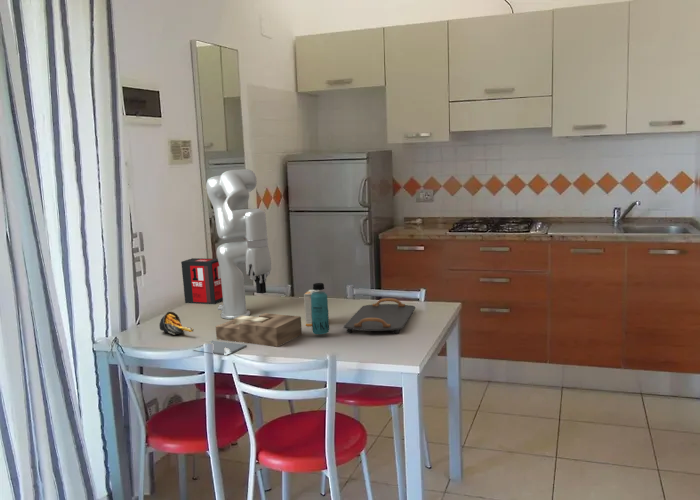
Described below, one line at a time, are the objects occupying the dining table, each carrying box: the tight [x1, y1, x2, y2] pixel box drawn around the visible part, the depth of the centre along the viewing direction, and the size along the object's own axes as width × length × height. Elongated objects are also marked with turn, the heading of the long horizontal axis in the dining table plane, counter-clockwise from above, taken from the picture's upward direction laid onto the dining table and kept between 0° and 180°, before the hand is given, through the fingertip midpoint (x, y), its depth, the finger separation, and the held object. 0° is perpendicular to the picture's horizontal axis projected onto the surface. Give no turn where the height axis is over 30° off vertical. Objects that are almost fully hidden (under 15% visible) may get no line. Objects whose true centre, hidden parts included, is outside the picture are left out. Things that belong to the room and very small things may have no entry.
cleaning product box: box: [180, 257, 223, 305], centre depth 310 cm, size 16×9×20 cm, turn 69°
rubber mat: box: [195, 340, 248, 356], centre depth 235 cm, size 16×11×1 cm
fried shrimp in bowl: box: [159, 311, 194, 336], centre depth 257 cm, size 9×11×18 cm
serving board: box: [342, 297, 416, 335], centre depth 259 cm, size 39×23×6 cm, turn 165°
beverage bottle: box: [311, 282, 330, 335], centre depth 243 cm, size 6×7×20 cm
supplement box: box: [303, 289, 321, 327], centre depth 261 cm, size 8×5×13 cm, turn 168°
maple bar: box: [234, 315, 269, 325], centre depth 248 cm, size 13×5×4 cm, turn 61°
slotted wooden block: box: [215, 312, 303, 348], centre depth 247 cm, size 28×16×7 cm, turn 61°
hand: (261, 292), depth 243 cm, fingers closed
